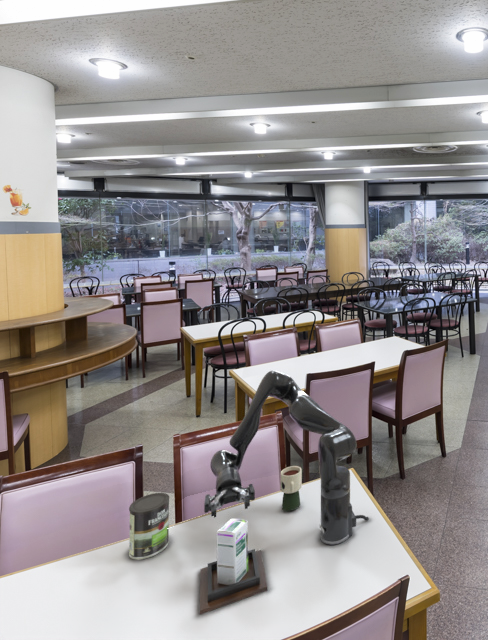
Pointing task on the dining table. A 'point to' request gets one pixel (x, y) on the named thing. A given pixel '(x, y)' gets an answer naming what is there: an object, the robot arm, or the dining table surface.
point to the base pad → (222, 594)
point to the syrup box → (232, 551)
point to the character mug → (291, 487)
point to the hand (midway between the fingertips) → (231, 510)
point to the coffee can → (149, 525)
